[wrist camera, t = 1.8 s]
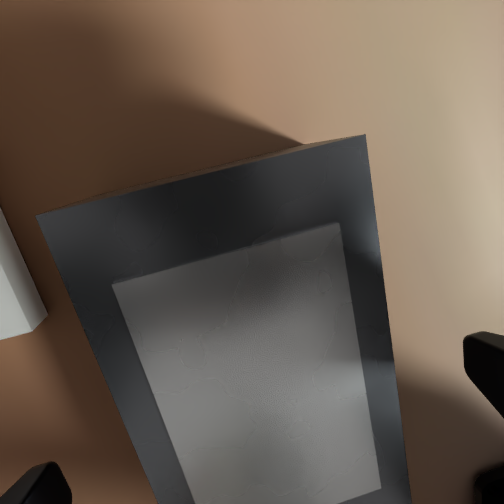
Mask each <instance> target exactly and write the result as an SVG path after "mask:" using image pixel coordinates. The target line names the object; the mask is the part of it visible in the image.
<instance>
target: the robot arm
mask: <svg viewBox="0 0 504 504" xmlns="http://www.w3.org/2000/svg"><path fill="white" fill-rule="evenodd" d="M463 356H464V368H465V372H466V374H467V375H468V377H469V378H470V380H471V381H472V382H473V383H474V384H475V385H476V387H477V388H478V389H479V390H480V391H481V392H482V394H483V395H484V396H485V397H486V398H487V399H488V401H489V402H490V403H491V404H492V405H493V406H494V408H495V409H496V410H497V411H498V412H499V413H500V415H501V416H502V417H503V418H504V336H503V335H498V334H494V333H489V332H484V331H481V332H477V333H473V334H470V335H467V336H466V337H465V338H464V340H463ZM474 495H475V504H504V466H503V467H500V468H497V469H494V470H491V471H488V472H486V473H483V474H481V475H480V476H479V477H478V478H477V479H476V481H475V483H474ZM0 504H72V493H71V489H70V487H69V485H68V483H67V481H66V479H65V477H64V475H63V473H62V471H61V469H60V467H59V466H58V464H57V463H56V462H52V461H51V462H47V463H44V464H40V465H37V466H34V467H32V468H31V469H29V470H28V471H27V472H26V473H25V474H24V475H23V476H22V477H21V478H20V479H19V480H18V481H17V482H16V483H15V484H14V485H13V486H12V487H11V488H9V489H8V490H7V491H6V492H5V493H4V494H3V495H2V496H1V497H0Z"/></svg>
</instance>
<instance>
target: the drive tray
mask: <svg viewBox="0 0 504 504" xmlns="http://www.w3.org/2000/svg"><path fill="white" fill-rule="evenodd" d="M47 316H48V313H47V311H46V309H45V307H44V304H43V302H42V300H41V298H40V295H39V293H38V291H37V289H36V286H35V284H34V282H33V280H32V277H31V275H30V273H29V271H28V268H27V266H26V264H25V262H24V259H23V257H22V255H21V253H20V250H19V248H18V246H17V244H16V241H15V239H14V237H13V235H12V232H11V230H10V228H9V226H8V223H7V221H6V219H5V217H4V215H3V212H2V210H1V208H0V340H2V339H6V338H9V337H13V336H17V335H21V334H24V333H28V332H32V331H33V330H34V329H35V328H36V327H37V326H38V325H39V324H40V323H41V322H42V321H43V320H44V319H45V318H46V317H47Z"/></svg>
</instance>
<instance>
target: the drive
mask: <svg viewBox="0 0 504 504" xmlns="http://www.w3.org/2000/svg"><path fill="white" fill-rule="evenodd" d="M35 217H36V219H37V221H38V224H39V226H40V228H41V231H42V233H43V235H44V238H45V240H46V242H47V245H48V247H49V249H50V252H51V254H52V256H53V259H54V261H55V263H56V266H57V268H58V270H59V273H60V275H61V277H62V280H63V282H64V284H65V287H66V289H67V291H68V294H69V296H70V298H71V301H72V303H73V305H74V308H75V310H76V312H77V315H78V317H79V319H80V322H81V324H82V326H83V329H84V331H85V333H86V336H87V338H88V340H89V343H90V345H91V348H92V350H93V352H94V355H95V357H96V359H97V362H98V364H99V366H100V369H101V371H102V373H103V376H104V378H105V380H106V383H107V385H108V387H109V390H110V392H111V394H112V397H113V399H114V401H115V404H116V406H117V408H118V411H119V413H120V415H121V418H122V420H123V422H124V425H125V427H126V429H127V432H128V434H129V436H130V439H131V441H132V443H133V446H134V448H135V450H136V453H137V455H138V457H139V460H140V462H141V464H142V467H143V469H144V471H145V474H146V476H147V478H148V481H149V483H150V485H151V488H152V490H153V492H154V495H155V497H156V499H157V502H158V504H412V501H411V493H410V485H409V477H408V469H407V461H406V453H405V445H404V437H403V429H402V422H401V414H400V406H399V398H398V390H397V382H396V374H395V366H394V358H393V350H392V342H391V334H390V326H389V318H388V310H387V302H386V294H385V286H384V278H383V270H382V262H381V254H380V246H379V238H378V230H377V222H376V214H375V206H374V198H373V190H372V182H371V174H370V167H369V159H368V151H367V143H366V135H365V134H364V135H358V136H352V137H346V138H340V139H334V140H328V141H322V142H316V143H310V144H304V145H300V146H296V147H292V148H288V149H284V150H279V151H275V152H271V153H267V154H263V155H259V156H255V157H251V158H247V159H243V160H239V161H235V162H231V163H226V164H222V165H218V166H214V167H210V168H206V169H202V170H198V171H194V172H190V173H186V174H182V175H178V176H174V177H169V178H165V179H161V180H157V181H153V182H149V183H145V184H141V185H137V186H133V187H129V188H125V189H121V190H116V191H112V192H108V193H104V194H100V195H96V196H93V197H90V198H87V199H84V200H81V201H78V202H75V203H72V204H69V205H66V206H63V207H60V208H57V209H54V210H51V211H48V212H45V213H42V214H39V215H36V216H35Z"/></svg>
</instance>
